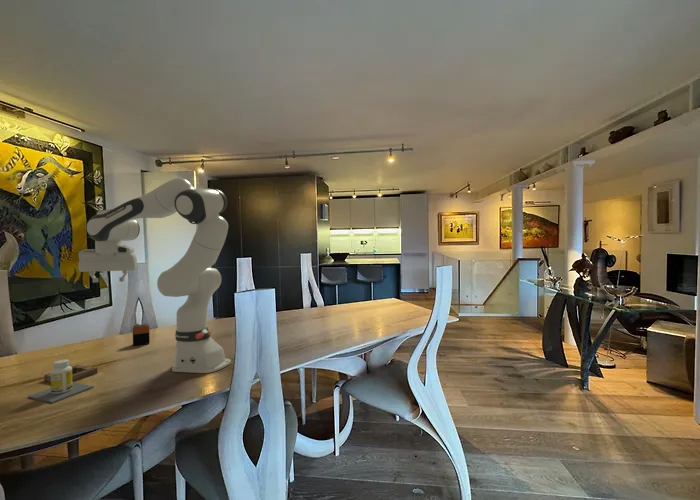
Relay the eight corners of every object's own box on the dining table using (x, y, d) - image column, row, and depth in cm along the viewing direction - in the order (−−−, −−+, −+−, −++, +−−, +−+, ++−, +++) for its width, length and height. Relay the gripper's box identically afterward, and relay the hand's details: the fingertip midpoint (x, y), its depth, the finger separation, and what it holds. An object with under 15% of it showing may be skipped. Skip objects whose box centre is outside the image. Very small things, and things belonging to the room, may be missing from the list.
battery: (133, 344, 166) (133, 323, 166) (149, 342, 169) (149, 322, 169) (132, 346, 162) (132, 325, 162) (149, 344, 166) (149, 323, 165)
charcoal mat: (93, 387, 114) (93, 386, 114) (52, 403, 103) (52, 401, 103) (70, 383, 119) (70, 381, 119) (27, 397, 107) (27, 396, 107)
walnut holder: (97, 373, 128) (97, 367, 128) (64, 384, 117) (64, 378, 117) (78, 369, 131) (78, 364, 131) (44, 380, 121) (44, 375, 121)
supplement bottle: (70, 386, 115) (69, 357, 115) (74, 390, 111) (74, 360, 111) (49, 391, 110) (48, 361, 110) (53, 396, 107) (52, 365, 107)
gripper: (75, 249, 135) (75, 283, 135) (133, 248, 141) (134, 281, 141) (82, 249, 141) (82, 282, 141) (138, 248, 147) (138, 280, 147)
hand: (109, 282), depth 141 cm, fingers open, 8 cm apart
